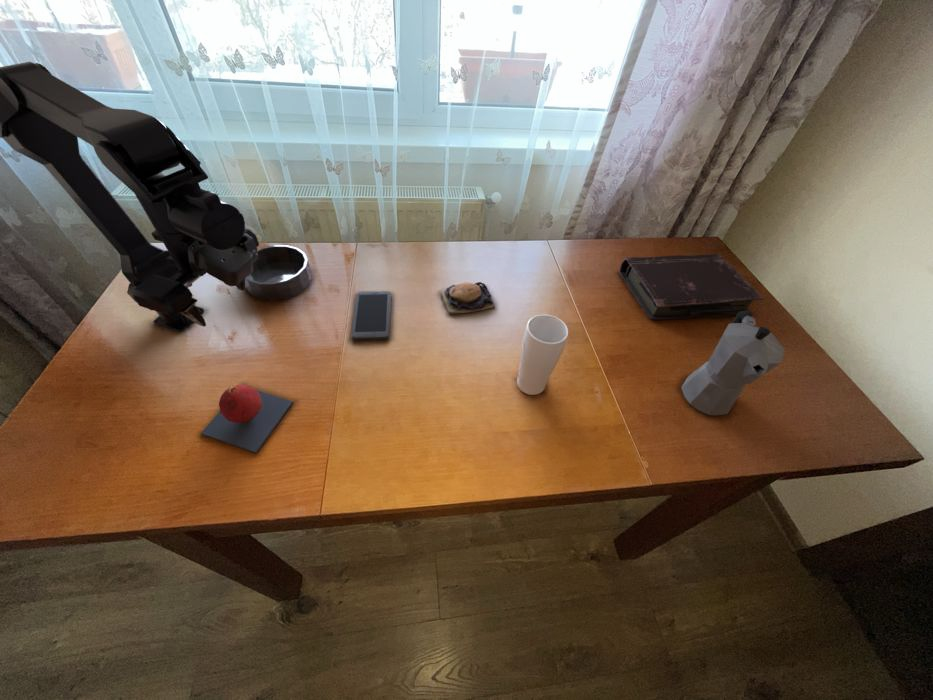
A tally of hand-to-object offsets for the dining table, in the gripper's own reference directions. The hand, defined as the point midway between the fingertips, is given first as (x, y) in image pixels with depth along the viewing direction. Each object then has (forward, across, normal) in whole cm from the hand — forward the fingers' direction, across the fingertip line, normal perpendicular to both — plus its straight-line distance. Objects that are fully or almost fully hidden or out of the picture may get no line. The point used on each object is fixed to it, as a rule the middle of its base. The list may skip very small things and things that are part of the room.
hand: (223, 306), depth 66 cm
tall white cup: (+12, +12, -52) cm, 54 cm away
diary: (+11, +51, -80) cm, 96 cm away
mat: (+12, -12, -9) cm, 19 cm away
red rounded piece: (+12, -12, -9) cm, 19 cm away
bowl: (+12, +20, +7) cm, 25 cm away
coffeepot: (+11, +22, -84) cm, 87 cm away
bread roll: (+12, +30, -34) cm, 46 cm away
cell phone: (+12, +18, -17) cm, 27 cm away
